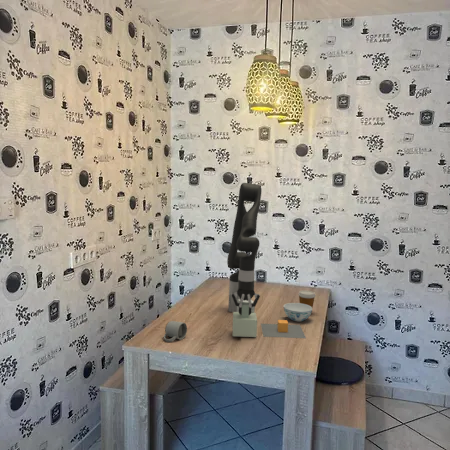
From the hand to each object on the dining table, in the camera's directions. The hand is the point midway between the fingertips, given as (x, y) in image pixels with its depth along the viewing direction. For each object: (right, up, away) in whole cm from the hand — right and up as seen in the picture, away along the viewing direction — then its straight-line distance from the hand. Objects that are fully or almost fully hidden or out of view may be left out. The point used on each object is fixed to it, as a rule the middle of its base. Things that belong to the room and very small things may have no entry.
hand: (244, 314), depth 205 cm
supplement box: (+1, -9, +16) cm, 18 cm away
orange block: (+19, -9, +7) cm, 22 cm away
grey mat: (+19, -10, +7) cm, 22 cm away
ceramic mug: (-33, -10, -6) cm, 35 cm away
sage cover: (0, -9, +1) cm, 9 cm away
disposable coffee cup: (+36, -7, +39) cm, 53 cm away
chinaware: (+29, -9, +25) cm, 39 cm away
